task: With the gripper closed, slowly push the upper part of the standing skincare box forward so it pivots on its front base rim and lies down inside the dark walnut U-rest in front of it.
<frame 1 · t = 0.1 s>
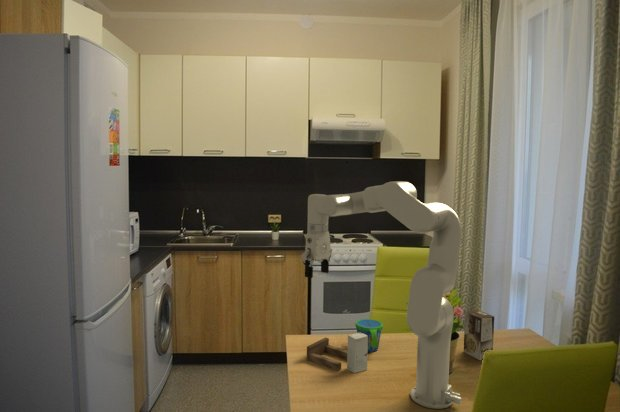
hand: (316, 274, 157), 31 cm above the table, tool pointing down, fingers open, 9 cm apart
u rest: (333, 360, 156), on the table
skincare box: (357, 369, 150), on the table
snack cup: (368, 349, 168), on the table
coffee box: (477, 355, 164), on the table
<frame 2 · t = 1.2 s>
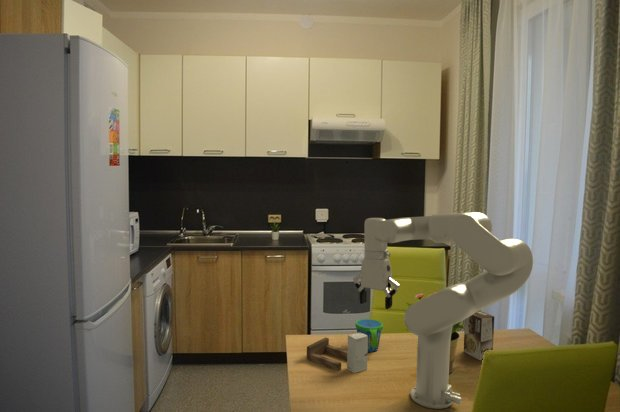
hand: (375, 305, 144), 24 cm above the table, tool pointing down, fingers open, 9 cm apart
nothing on the table moved.
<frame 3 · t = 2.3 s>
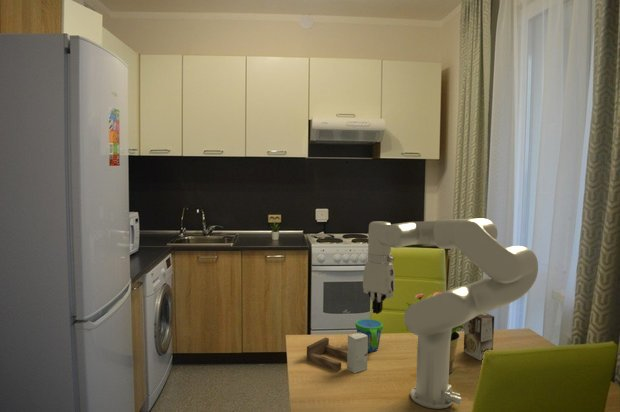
hand: (377, 312, 144), 22 cm above the table, tool pointing down, fingers closed
nothing on the table moved.
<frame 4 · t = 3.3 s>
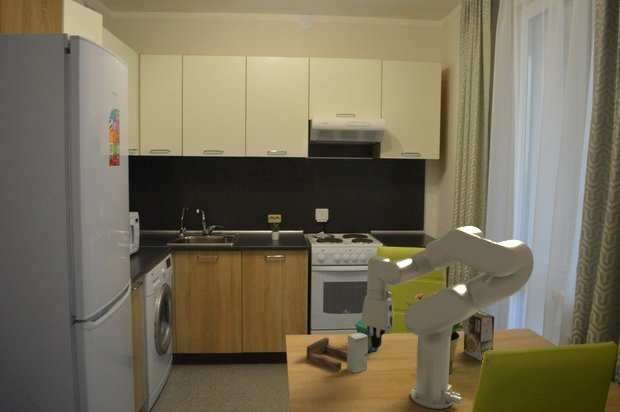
hand: (376, 346, 145), 10 cm above the table, tool pointing down, fingers closed
nothing on the table moved.
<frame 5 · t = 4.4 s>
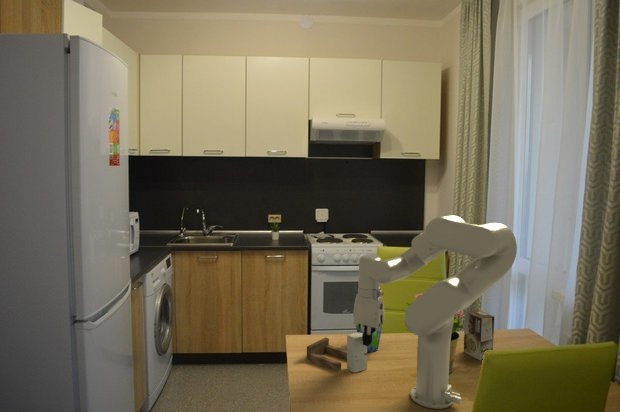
hand: (367, 344, 147), 10 cm above the table, tool pointing down, fingers closed
skincare box: (357, 369, 150), on the table, touching gripper
everything else where it was.
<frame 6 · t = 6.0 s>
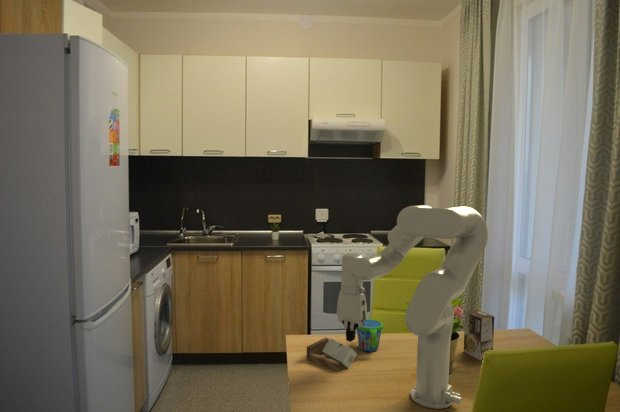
hand: (350, 340, 151), 10 cm above the table, tool pointing down, fingers closed
skincare box: (351, 358, 150), point 3 cm above the table, touching u rest
everything else where it was.
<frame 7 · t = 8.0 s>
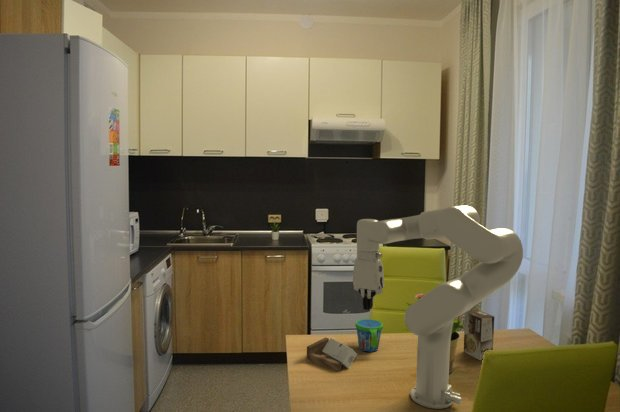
hand: (367, 308, 146), 22 cm above the table, tool pointing down, fingers closed
nothing on the table moved.
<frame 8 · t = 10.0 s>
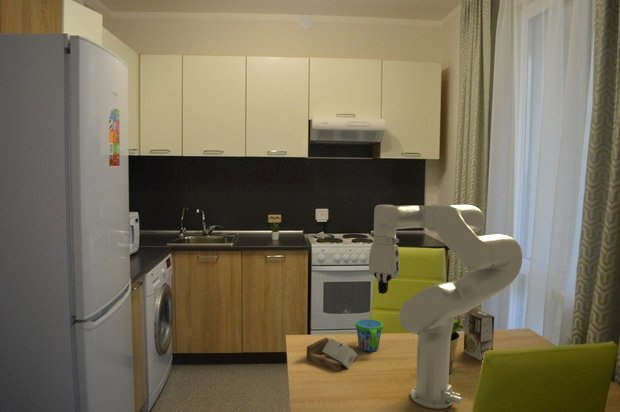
hand: (382, 292, 149), 27 cm above the table, tool pointing down, fingers closed
nothing on the table moved.
at the end: skincare box tilted 90°; skincare box 1.5 cm from the target spot on the u rest, point 3.4 cm above the u rest's base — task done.
